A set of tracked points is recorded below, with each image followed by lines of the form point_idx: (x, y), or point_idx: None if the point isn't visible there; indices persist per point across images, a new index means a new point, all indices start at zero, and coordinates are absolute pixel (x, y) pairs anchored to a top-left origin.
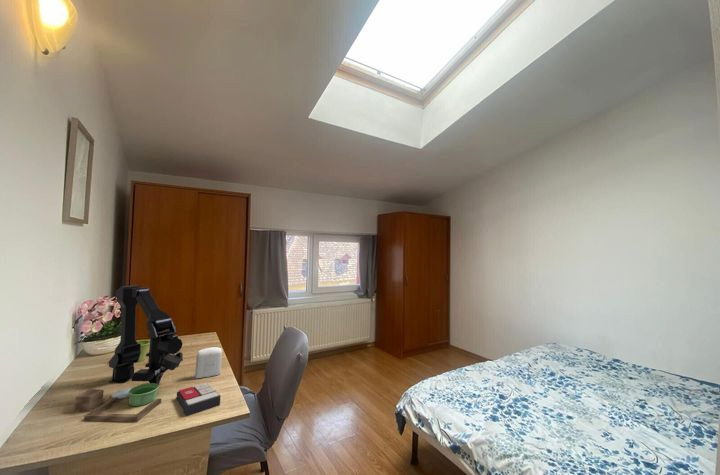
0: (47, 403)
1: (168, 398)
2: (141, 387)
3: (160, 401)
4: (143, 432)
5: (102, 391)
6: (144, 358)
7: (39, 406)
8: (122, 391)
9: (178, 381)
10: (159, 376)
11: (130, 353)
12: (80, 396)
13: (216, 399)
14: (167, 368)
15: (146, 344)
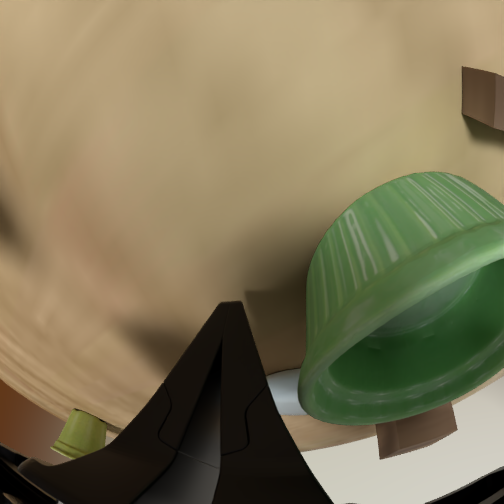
0: (355, 439)
1: (362, 24)
2: (349, 397)
3: (485, 72)
4: None
5: (405, 442)
6: (75, 413)
7: (368, 437)
8: (289, 406)
9: (23, 231)
10: (186, 442)
11: None
12: (436, 441)
13: None
14: (44, 486)
15: (64, 454)
